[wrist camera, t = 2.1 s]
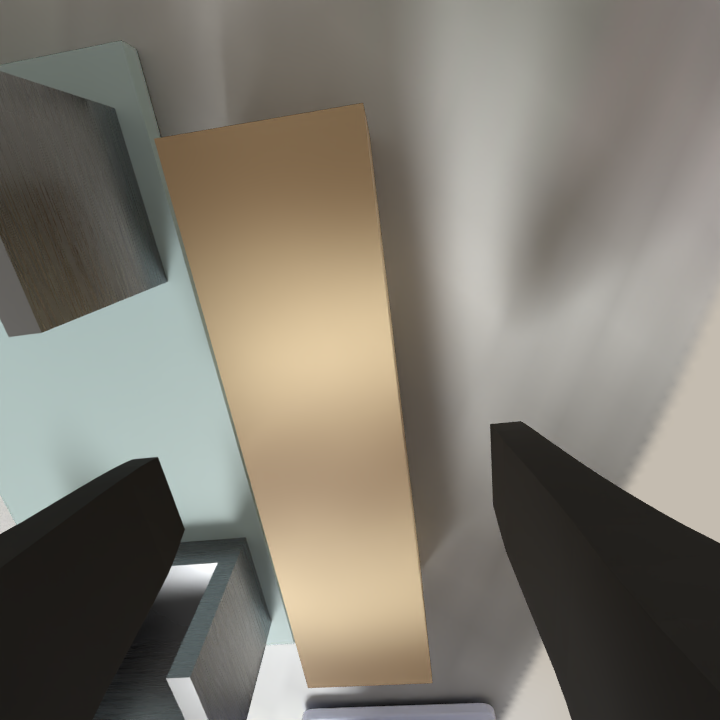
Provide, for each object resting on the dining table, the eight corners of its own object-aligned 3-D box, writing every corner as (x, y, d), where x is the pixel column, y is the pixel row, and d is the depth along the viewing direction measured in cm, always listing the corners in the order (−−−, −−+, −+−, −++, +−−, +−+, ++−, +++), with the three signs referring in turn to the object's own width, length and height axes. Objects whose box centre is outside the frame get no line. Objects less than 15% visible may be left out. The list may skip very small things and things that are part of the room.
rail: (420, 564, 15) (432, 682, 12) (325, 571, 16) (308, 688, 12) (369, 135, 10) (363, 102, 7) (233, 157, 11) (153, 138, 7)
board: (297, 628, 16) (294, 643, 16) (96, 639, 17) (87, 654, 17) (136, 49, 10) (121, 40, 9) (-180, 111, 11) (-212, 107, 10)
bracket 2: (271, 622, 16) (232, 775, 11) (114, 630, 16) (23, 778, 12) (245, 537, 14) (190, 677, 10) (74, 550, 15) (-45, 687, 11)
